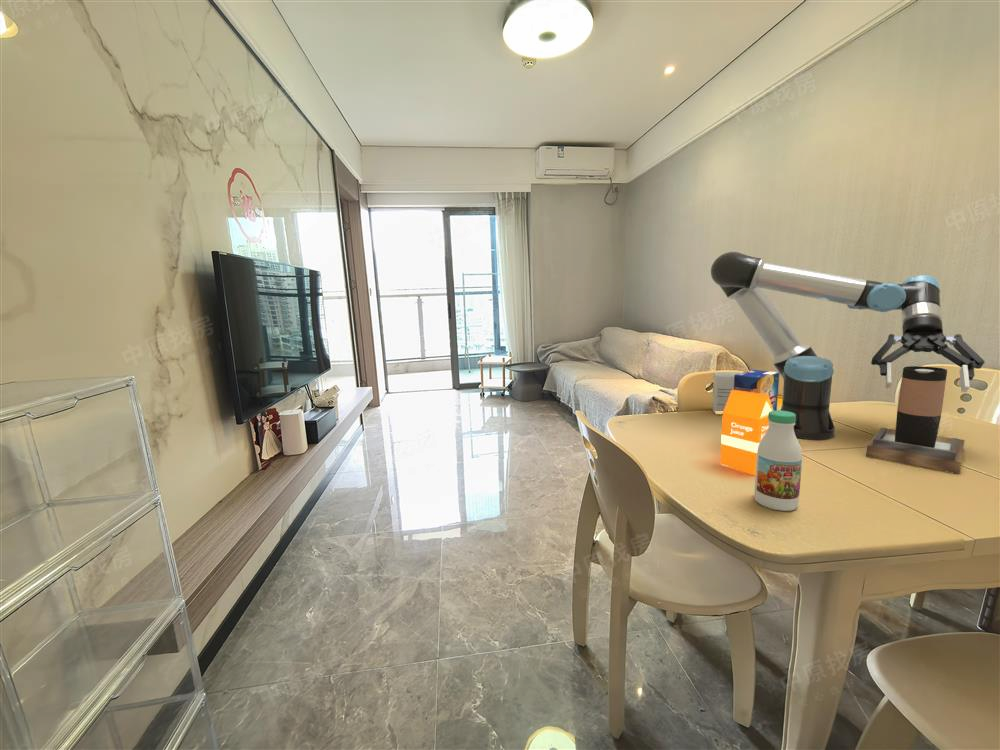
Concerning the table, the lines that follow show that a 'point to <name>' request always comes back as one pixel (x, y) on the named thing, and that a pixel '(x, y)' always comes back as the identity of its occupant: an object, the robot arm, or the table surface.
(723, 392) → the supplement box
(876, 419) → the table surface
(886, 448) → the dock
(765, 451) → the milk bottle
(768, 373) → the beverage box
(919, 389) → the travel mug
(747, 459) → the orange juice
